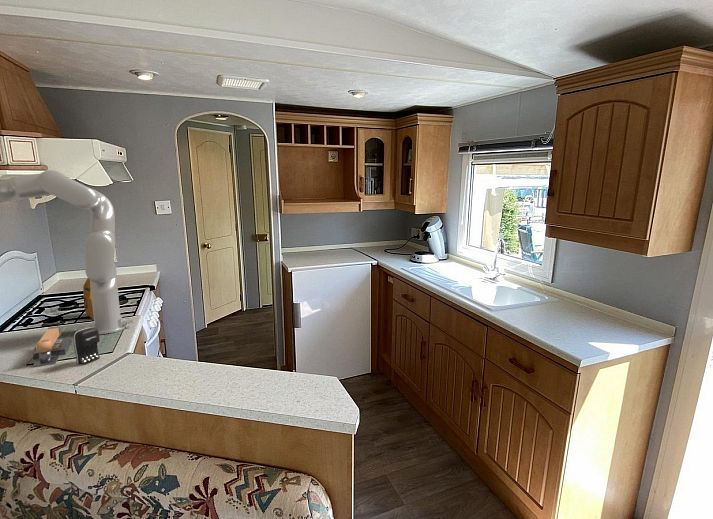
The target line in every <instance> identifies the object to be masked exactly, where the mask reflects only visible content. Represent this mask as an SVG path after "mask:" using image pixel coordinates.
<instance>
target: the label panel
mask: <svg viewBox="0 0 713 519" xmlns="http://www.w3.org/2000/svg"><path fill="white" fill-rule="evenodd" d="M72 337H73V336H68V337H67V336H66V337H59V338H57V340H56V341H55V343H54V345H53V346H52V350H51V355H52V357H55V356H64V355H65V356H66V354H67V353H68V350H69V349H70V347H71V344H72V343H73V338H72ZM32 359H33V360H34V361H35V360H37V359H40V358H39V353H38V352H37V348H36V349H35V350H34V352H33V353H32Z"/></svg>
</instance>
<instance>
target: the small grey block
mask: <svg viewBox="0 0 713 519" xmlns="http://www.w3.org/2000/svg"><path fill="white" fill-rule="evenodd" d="M39 358H40V359H35V362H34V363H33V365H32V368H38V367H42V366H43V367H45V366H49V365H55V364H57V362H58V360H59V358H60V355H58V356H52V355H51V350H50V351H47V352H41V353H39Z"/></svg>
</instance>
